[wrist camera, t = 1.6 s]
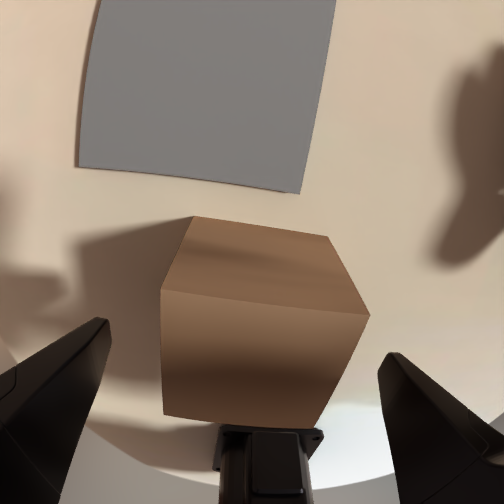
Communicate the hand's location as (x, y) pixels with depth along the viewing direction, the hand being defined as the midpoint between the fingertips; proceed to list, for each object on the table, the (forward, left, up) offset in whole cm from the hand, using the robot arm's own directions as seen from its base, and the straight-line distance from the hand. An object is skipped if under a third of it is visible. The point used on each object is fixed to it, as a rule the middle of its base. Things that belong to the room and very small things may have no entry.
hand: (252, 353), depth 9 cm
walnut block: (0, 0, -4) cm, 4 cm away
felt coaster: (+8, +3, -4) cm, 9 cm away
